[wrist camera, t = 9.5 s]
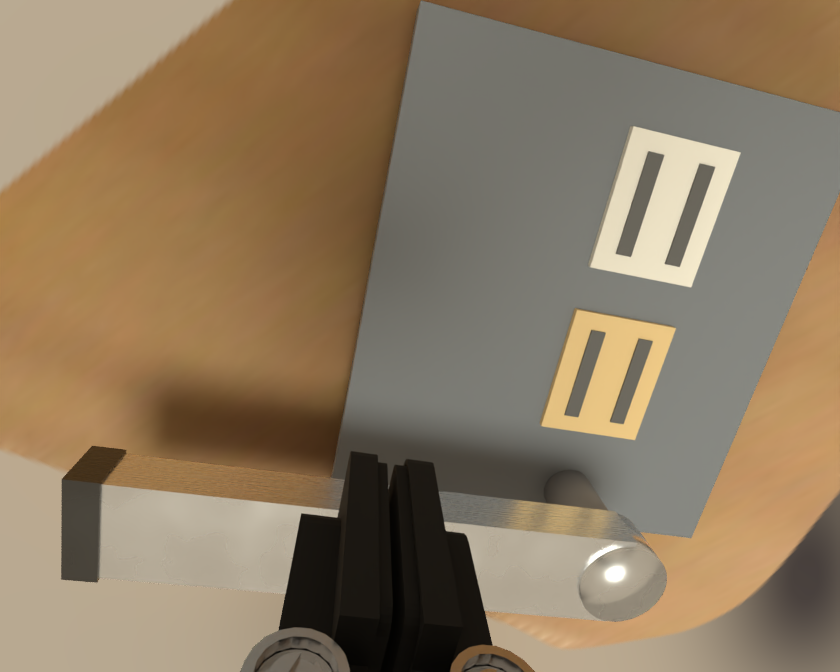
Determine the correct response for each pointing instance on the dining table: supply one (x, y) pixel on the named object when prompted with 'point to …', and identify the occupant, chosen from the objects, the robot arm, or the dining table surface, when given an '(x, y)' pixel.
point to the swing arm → (295, 493)
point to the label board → (578, 269)
